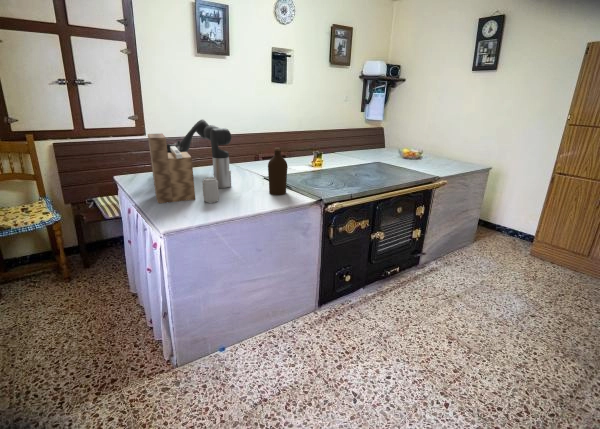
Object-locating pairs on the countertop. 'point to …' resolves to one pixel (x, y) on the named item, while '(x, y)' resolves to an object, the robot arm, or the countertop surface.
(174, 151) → the remote
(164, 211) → the countertop surface
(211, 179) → the can
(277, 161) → the olive oil
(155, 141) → the stepped wooden block
